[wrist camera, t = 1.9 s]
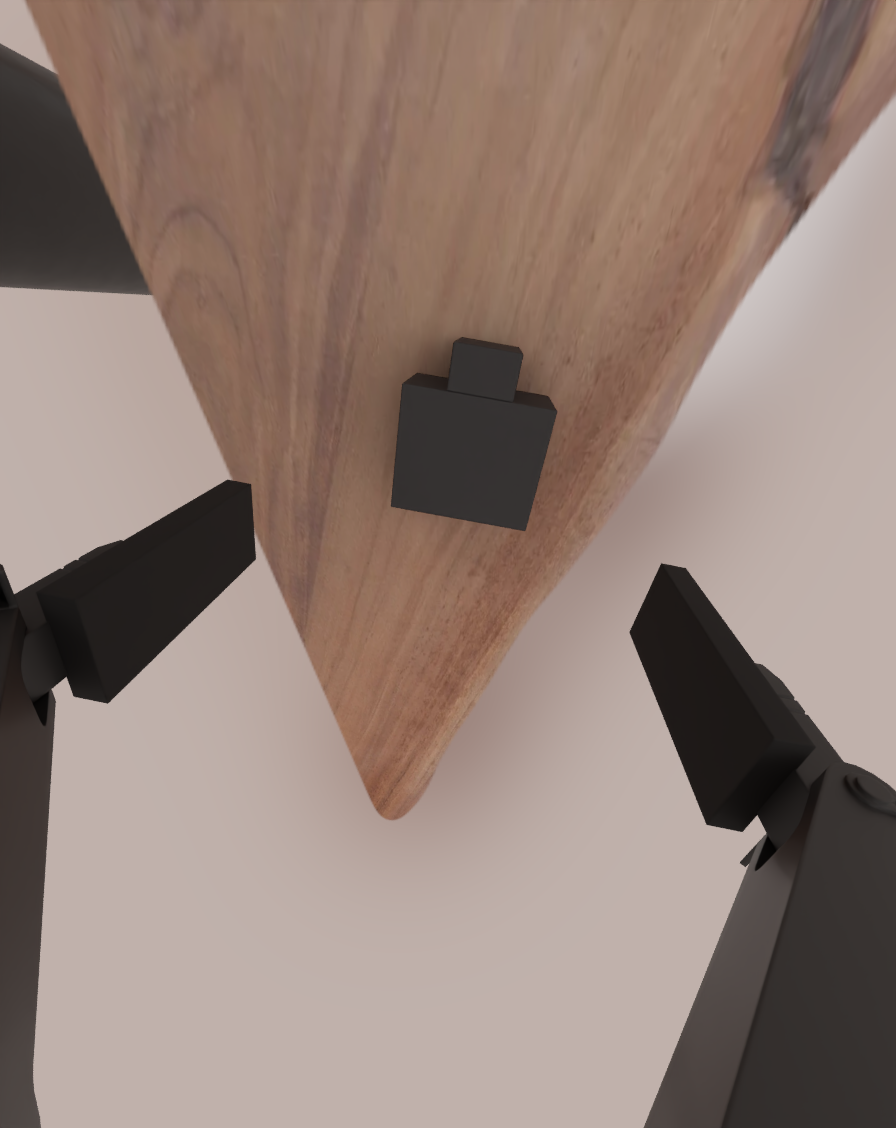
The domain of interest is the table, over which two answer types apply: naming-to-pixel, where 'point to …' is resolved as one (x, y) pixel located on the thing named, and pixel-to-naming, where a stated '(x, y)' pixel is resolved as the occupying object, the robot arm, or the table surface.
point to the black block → (472, 439)
